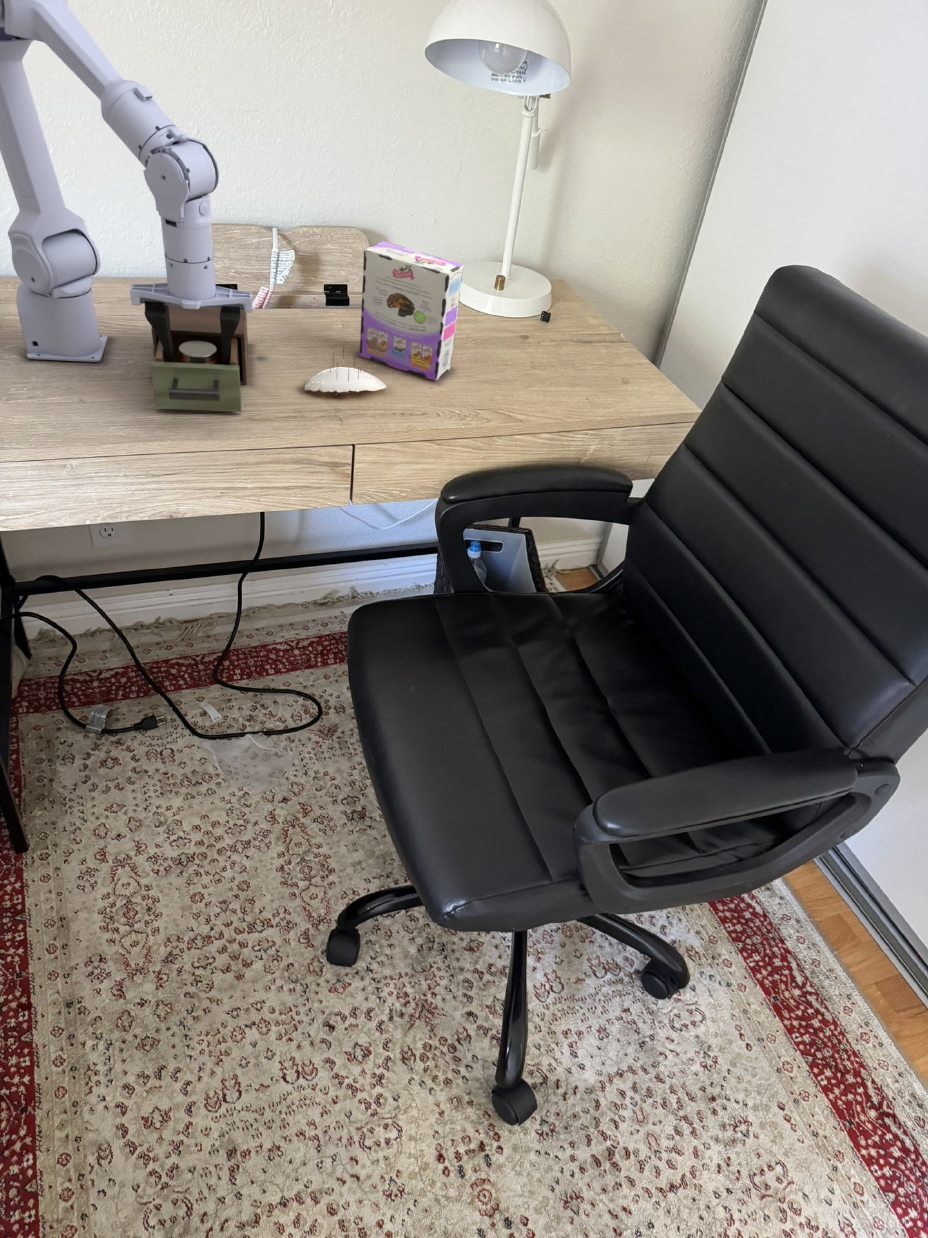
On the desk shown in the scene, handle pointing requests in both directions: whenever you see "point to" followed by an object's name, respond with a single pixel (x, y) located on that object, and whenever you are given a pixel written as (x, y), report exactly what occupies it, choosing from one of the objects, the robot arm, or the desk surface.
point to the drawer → (197, 378)
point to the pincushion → (344, 380)
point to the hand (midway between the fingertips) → (198, 360)
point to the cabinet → (206, 329)
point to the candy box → (409, 309)
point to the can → (198, 353)
